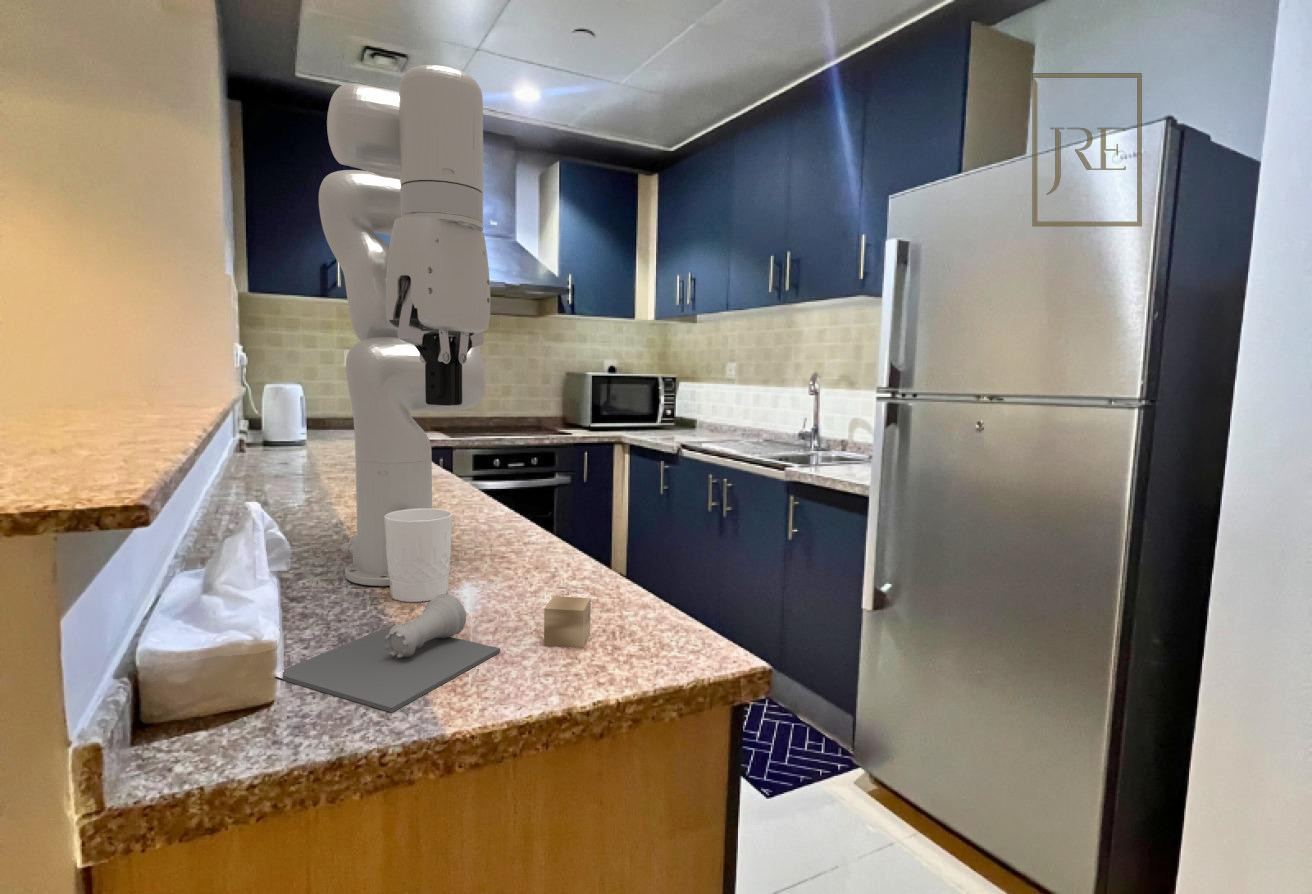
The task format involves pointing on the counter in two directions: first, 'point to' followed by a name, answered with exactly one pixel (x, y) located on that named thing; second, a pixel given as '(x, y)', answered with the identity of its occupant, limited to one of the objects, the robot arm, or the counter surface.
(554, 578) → the counter surface
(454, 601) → the rook chess piece
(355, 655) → the mat
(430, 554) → the white cup
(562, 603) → the oak block
